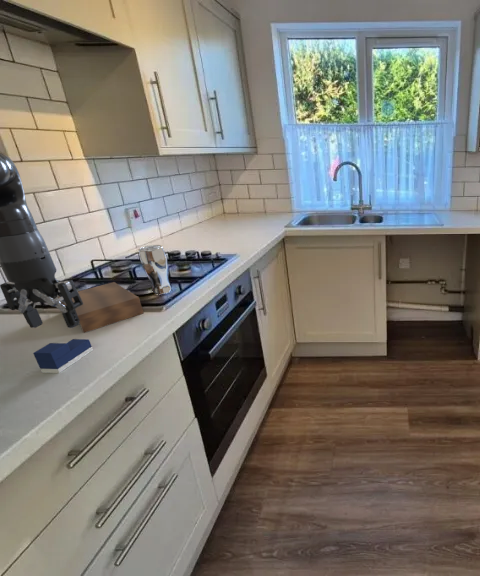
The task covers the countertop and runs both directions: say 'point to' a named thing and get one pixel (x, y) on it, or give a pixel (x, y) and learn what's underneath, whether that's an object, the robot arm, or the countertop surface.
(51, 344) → the blue stepped sponge
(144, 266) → the beer glass
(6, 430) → the countertop surface
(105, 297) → the wooden display riser
